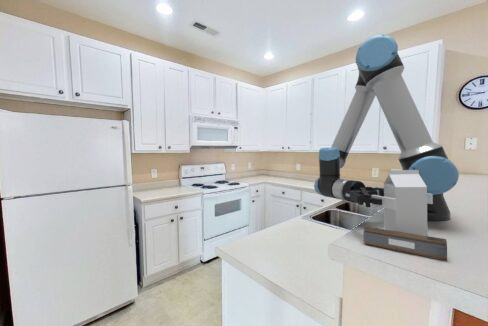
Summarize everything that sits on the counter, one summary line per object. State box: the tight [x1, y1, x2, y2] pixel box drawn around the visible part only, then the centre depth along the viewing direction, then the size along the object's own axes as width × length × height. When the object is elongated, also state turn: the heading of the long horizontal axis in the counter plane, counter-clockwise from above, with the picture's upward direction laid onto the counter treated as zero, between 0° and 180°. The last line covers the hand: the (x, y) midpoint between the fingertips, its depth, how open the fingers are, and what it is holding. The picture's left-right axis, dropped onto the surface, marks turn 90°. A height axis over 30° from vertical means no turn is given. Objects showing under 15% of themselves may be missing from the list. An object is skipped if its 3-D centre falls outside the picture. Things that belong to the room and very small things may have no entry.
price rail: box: [363, 226, 448, 262], centre depth 53 cm, size 3×16×4 cm, turn 50°
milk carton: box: [383, 169, 429, 236], centre depth 59 cm, size 7×7×19 cm
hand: (414, 201), depth 56 cm, fingers open, 13 cm apart
